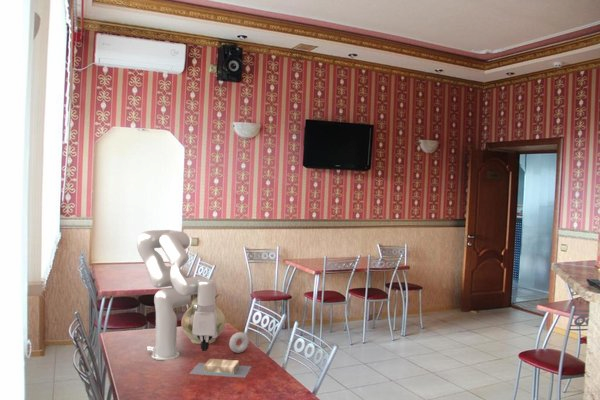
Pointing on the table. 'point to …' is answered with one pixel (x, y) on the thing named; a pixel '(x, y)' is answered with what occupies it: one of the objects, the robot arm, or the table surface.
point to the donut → (243, 345)
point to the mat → (240, 372)
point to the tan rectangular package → (221, 366)
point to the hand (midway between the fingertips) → (204, 350)
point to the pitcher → (189, 317)
